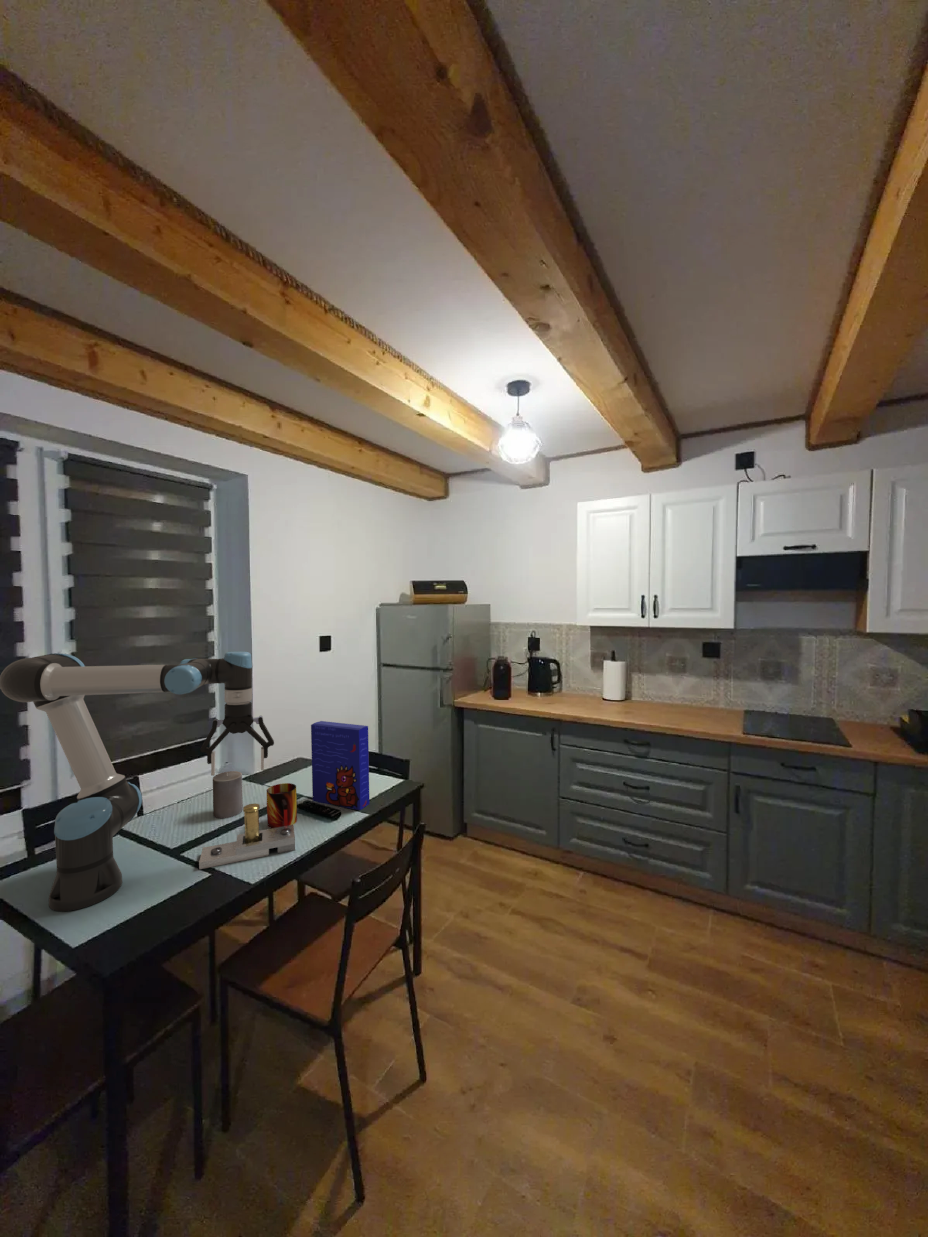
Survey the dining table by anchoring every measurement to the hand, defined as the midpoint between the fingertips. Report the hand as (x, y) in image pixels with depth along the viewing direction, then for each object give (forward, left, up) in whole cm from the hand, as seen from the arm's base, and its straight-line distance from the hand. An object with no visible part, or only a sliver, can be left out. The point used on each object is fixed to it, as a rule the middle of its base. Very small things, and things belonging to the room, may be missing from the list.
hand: (238, 771), depth 144 cm
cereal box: (+34, +23, -25) cm, 48 cm away
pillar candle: (-5, +31, -25) cm, 40 cm away
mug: (+14, +13, -25) cm, 32 cm away
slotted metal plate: (+4, -2, -25) cm, 25 cm away
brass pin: (+3, -2, -25) cm, 25 cm away
